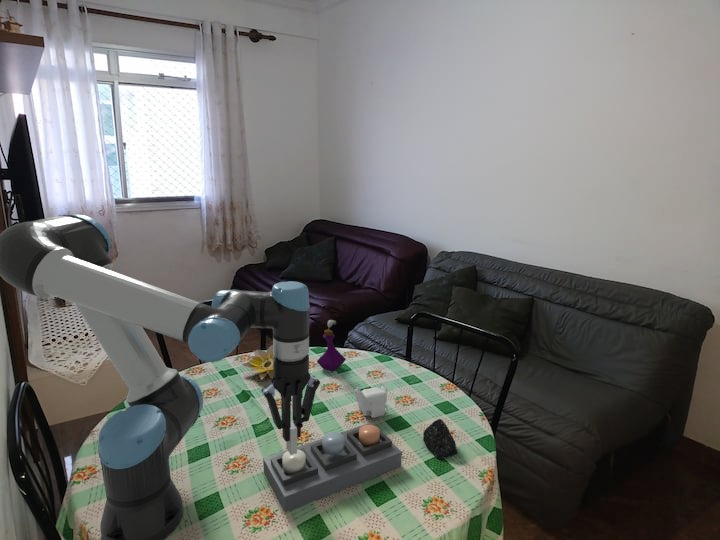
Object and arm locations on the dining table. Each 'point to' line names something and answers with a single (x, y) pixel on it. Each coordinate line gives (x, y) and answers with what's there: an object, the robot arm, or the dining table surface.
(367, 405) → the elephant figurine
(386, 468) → the console
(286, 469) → the ivory button
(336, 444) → the slate button
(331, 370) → the perfume bottle
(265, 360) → the decorative flower
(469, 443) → the dining table surface
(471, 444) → the dining table surface
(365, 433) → the terracotta button
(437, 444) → the rock
